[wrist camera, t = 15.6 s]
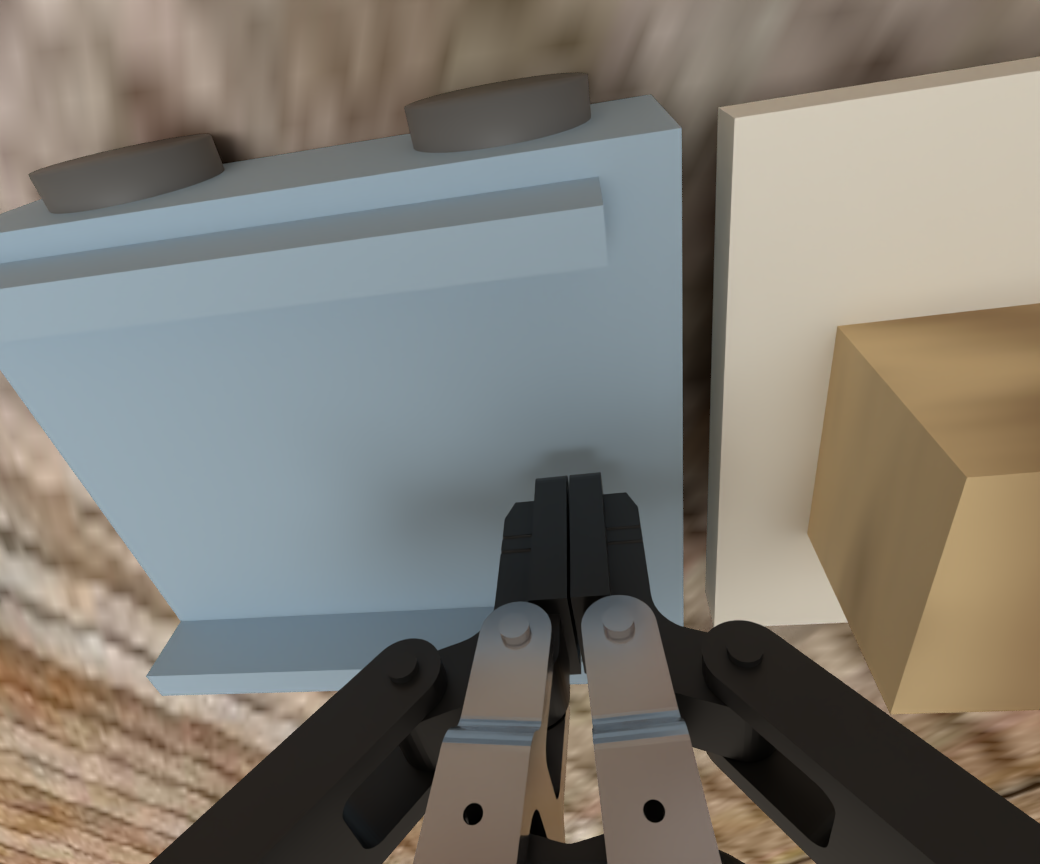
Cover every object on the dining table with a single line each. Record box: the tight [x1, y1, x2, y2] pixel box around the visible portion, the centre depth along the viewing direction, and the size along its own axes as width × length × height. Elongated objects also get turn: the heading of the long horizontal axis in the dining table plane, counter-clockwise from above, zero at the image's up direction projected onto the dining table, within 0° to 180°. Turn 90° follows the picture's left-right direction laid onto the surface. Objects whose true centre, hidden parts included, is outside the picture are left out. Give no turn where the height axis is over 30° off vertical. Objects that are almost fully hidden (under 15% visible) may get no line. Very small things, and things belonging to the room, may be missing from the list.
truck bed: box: [0, 73, 683, 696], centre depth 17 cm, size 16×16×7 cm
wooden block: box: [807, 303, 1040, 714], centre depth 12 cm, size 6×6×5 cm
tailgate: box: [705, 57, 1040, 627], centre depth 14 cm, size 1×14×12 cm
